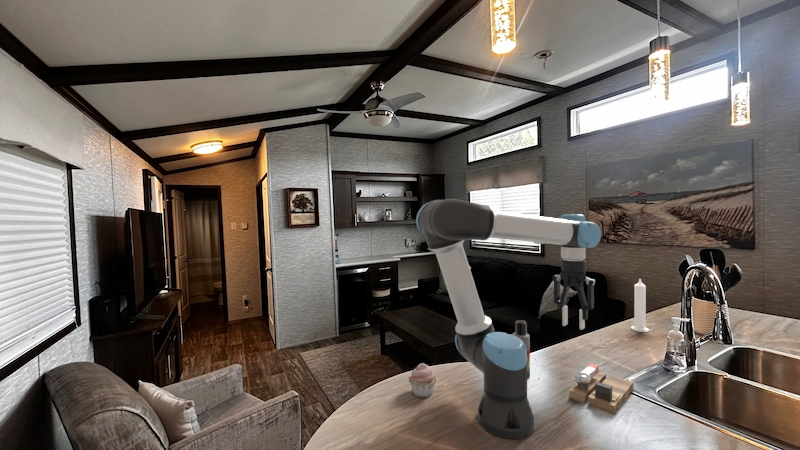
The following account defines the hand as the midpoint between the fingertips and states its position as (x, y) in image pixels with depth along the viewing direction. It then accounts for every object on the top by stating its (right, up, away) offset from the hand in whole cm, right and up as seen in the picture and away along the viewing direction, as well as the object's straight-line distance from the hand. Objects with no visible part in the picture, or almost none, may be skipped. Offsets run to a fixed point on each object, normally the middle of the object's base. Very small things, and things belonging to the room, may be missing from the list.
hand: (573, 326), depth 119 cm
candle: (+57, -16, +49) cm, 76 cm away
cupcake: (-52, -20, -6) cm, 56 cm away
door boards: (+5, -19, -8) cm, 21 cm away
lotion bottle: (-16, -19, +4) cm, 26 cm away
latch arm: (+1, -15, -6) cm, 16 cm away
